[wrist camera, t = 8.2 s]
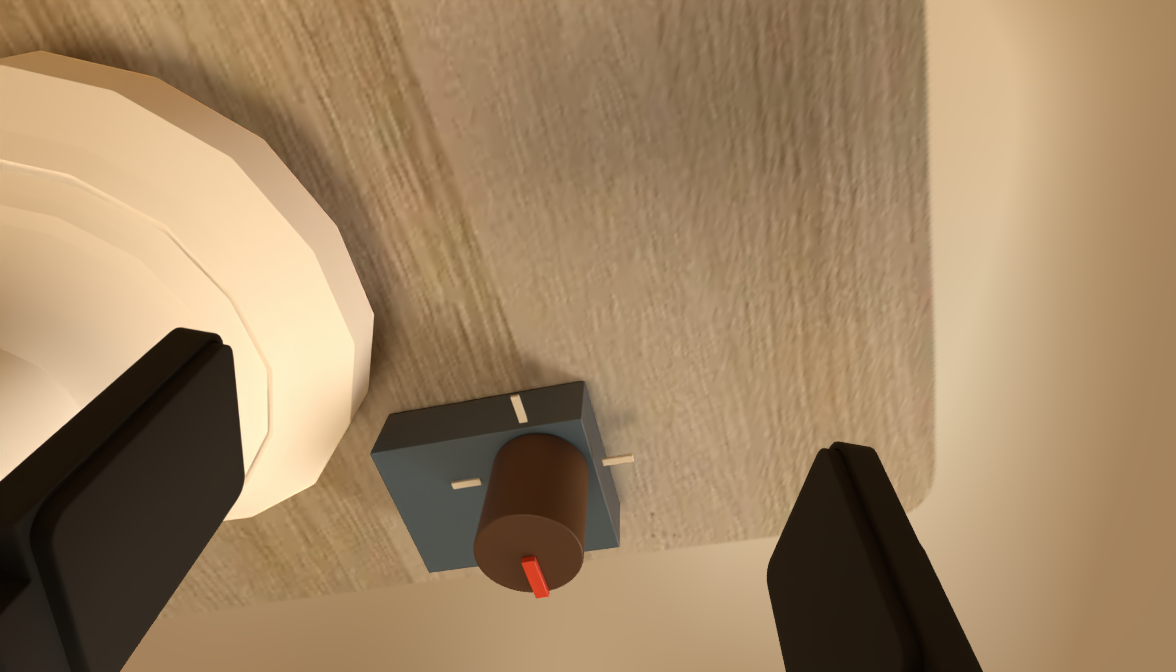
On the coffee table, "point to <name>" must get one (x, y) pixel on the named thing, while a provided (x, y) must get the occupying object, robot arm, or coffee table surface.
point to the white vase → (167, 266)
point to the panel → (485, 466)
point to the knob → (534, 515)
